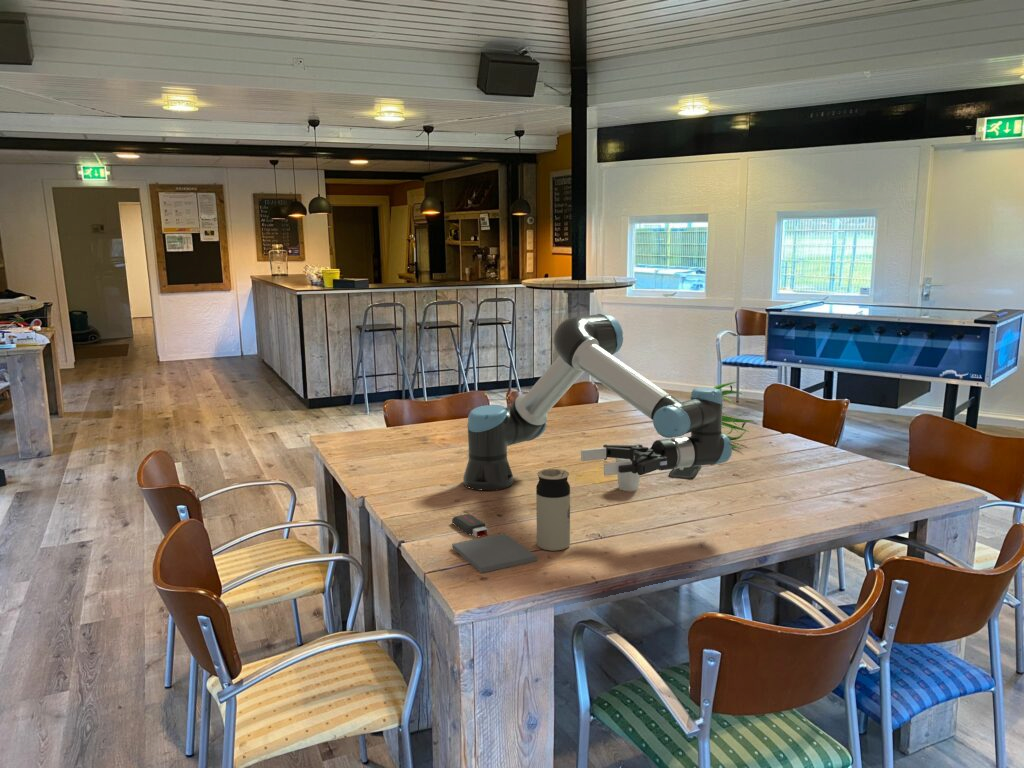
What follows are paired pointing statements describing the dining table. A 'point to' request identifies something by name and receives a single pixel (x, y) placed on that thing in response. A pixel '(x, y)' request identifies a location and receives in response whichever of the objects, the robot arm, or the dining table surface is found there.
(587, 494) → the dining table surface
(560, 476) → the travel mug
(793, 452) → the dining table surface
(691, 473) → the phone
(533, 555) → the charcoal mat
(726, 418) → the decorative plant
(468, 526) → the usb drive
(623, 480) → the dixie cup
